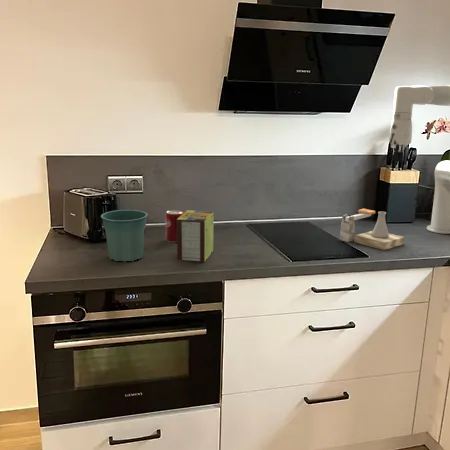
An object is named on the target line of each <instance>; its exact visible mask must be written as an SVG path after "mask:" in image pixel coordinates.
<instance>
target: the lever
mask: <svg viewBox="0 0 450 450" xmlns="http://www.w3.org/2000/svg"><path fill="white" fill-rule="evenodd" d="M357 212H358V213H357V214H354V215H350V216H355V218H354V221H357V220H361V219H365V218H369V217H371V216H372V215H374V214H376V210H373V209H372V210H371V209H367V208H362V209H361V208H360V209H358V210H357ZM350 216H349V215H348V216H347V217H345V221H346V222H349V217H350Z"/></svg>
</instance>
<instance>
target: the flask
mask: <svg viewBox="0 0 450 450" xmlns="http://www.w3.org/2000/svg"><path fill="white" fill-rule="evenodd" d="M377 214H378V216H377V220H376V223H375V225H374V228H373V230H371V231H372V233H371V235H372V236H373V237H379V238H388V237H389V234H390V233H389V231H388V226H387V222H386V214H387V212H386V211H378V212H377Z"/></svg>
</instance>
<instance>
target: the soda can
mask: <svg viewBox="0 0 450 450" xmlns="http://www.w3.org/2000/svg"><path fill="white" fill-rule="evenodd" d="M164 214H165V216H164V217H165V240H167V241H169V242H168V243H170V242H177V219H178V218H179V217H180V216H181V215H182V214H184V212H183V211H181V210H177V209H175V210H167V211H165V213H164ZM167 241H166V242H167Z"/></svg>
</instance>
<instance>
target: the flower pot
mask: <svg viewBox="0 0 450 450" xmlns="http://www.w3.org/2000/svg"><path fill="white" fill-rule="evenodd" d="M100 217H101V219H102V222H103V227H104V229H105V237H106V243H107V250H108V258H109V259H110V258H111V259H113V260H112V261H114V260H116V261H132V262H135V261H136V260H137V259H139V260H141V259H142V258H143V257H144V242H145V230H146V229H145V227H146V225H147V223H146V222H147V217H148V213H147V212H145V211H142V210H137V209H119V210H118V209H117V210H116V209H115V210H111V211H107V212H103V213H102V214H101V215H100ZM140 258H141V259H140ZM111 259H110V260H111ZM134 260H135V261H134ZM116 261H115V262H116Z"/></svg>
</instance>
